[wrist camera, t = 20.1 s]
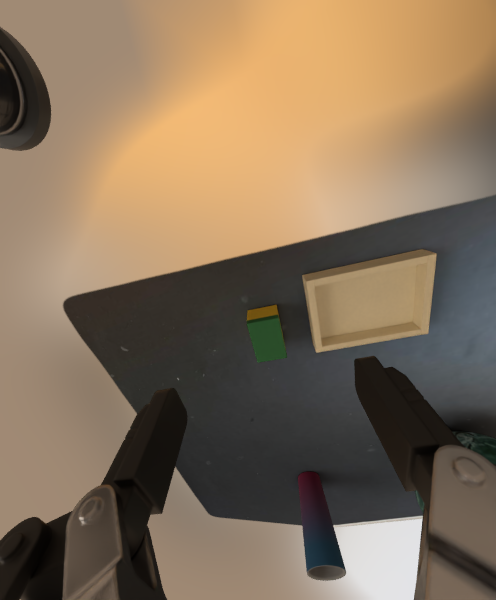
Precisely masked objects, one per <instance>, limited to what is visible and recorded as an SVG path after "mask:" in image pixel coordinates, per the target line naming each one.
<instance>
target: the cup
mask: <svg viewBox="0 0 496 600" xmlns="http://www.w3.org/2000/svg"><path fill="white" fill-rule="evenodd" d="M298 484H299V494H300V505H301V515H302V526H303V536H304V546H305V557H306V568H307V575H308V576H309V577H311V578H313V579H316V580H336V579H339V578H342V577H343V576H345V574H346V570H345V567H344V563H343V559H342V556H341V552H340V549H339V545H338V542H337V538H336V534H335V531H334V527H333V524H332V520H331V517H330V513H329V509H328V506H327V502H326V499H325V495H324V492H323V488H322V484H321V481H320V477H319V475H318V474H317V473H315V472H303V473H301V474H300V475H299V476H298Z"/></svg>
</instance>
